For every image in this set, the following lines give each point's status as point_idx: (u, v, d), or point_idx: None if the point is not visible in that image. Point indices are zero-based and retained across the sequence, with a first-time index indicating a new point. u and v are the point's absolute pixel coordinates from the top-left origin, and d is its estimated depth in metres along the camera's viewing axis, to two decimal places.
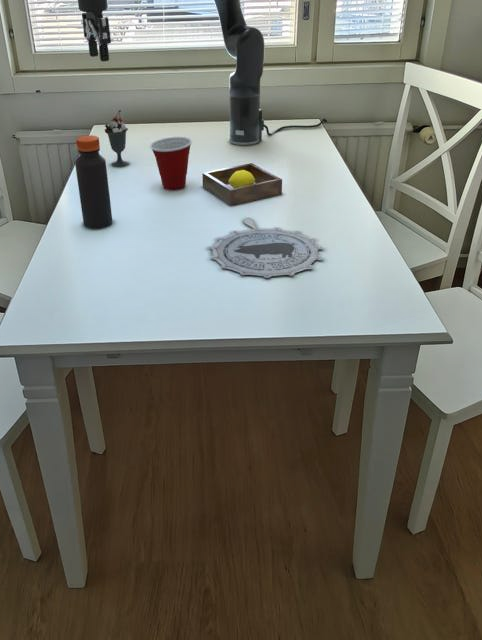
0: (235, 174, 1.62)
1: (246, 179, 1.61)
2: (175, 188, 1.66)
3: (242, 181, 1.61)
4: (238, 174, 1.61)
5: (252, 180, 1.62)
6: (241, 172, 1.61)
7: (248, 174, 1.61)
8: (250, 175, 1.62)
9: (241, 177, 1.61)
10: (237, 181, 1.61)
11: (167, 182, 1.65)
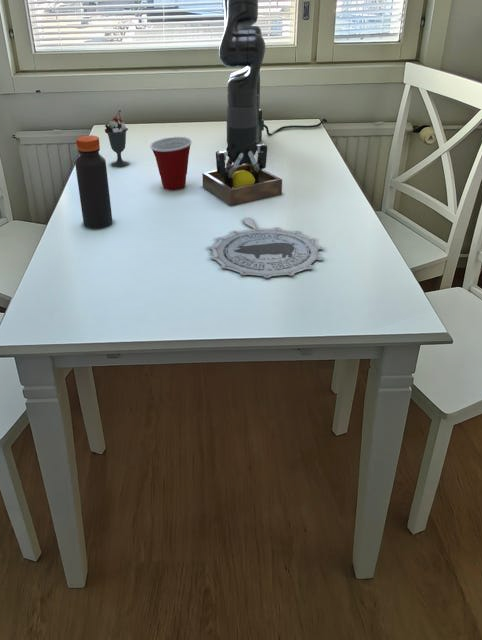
0: (235, 174, 1.62)
1: (246, 179, 1.61)
2: (175, 188, 1.66)
3: (242, 181, 1.61)
4: (237, 174, 1.61)
5: (252, 180, 1.62)
6: (241, 172, 1.61)
7: (248, 174, 1.61)
8: (250, 175, 1.62)
9: (241, 177, 1.61)
10: (237, 181, 1.61)
11: (167, 182, 1.65)
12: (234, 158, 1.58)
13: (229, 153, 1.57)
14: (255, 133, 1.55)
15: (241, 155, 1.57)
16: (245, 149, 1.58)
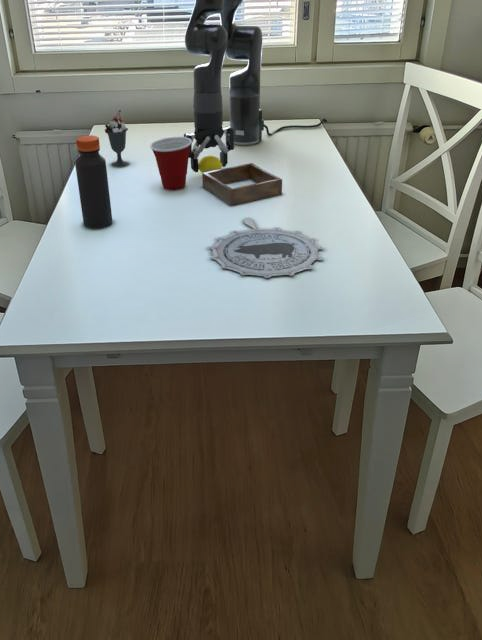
0: (203, 159, 1.72)
1: (213, 163, 1.72)
2: (175, 188, 1.66)
3: (210, 165, 1.71)
4: (205, 159, 1.72)
5: (219, 165, 1.73)
6: (208, 157, 1.72)
7: (215, 159, 1.72)
8: (217, 160, 1.72)
9: (208, 162, 1.71)
10: (205, 166, 1.72)
11: (167, 182, 1.65)
12: (201, 141, 1.68)
13: (196, 137, 1.67)
14: (220, 118, 1.65)
15: (208, 139, 1.68)
16: (211, 133, 1.68)
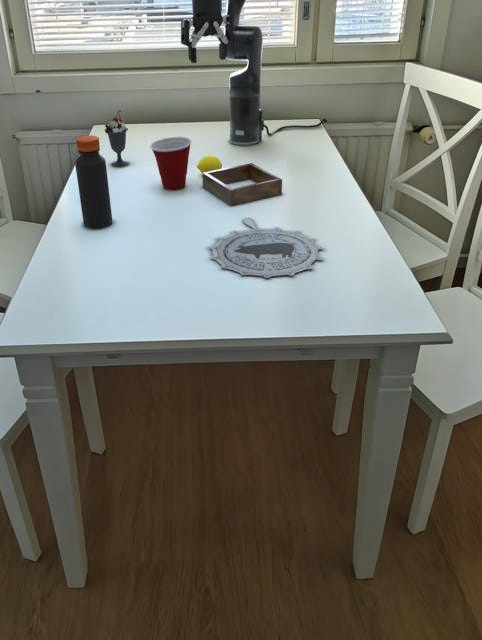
0: (203, 159, 1.72)
1: (213, 163, 1.72)
2: (175, 188, 1.66)
3: (210, 165, 1.71)
4: (205, 159, 1.72)
5: (219, 165, 1.73)
6: (209, 157, 1.72)
7: (215, 159, 1.72)
8: (217, 160, 1.72)
9: (208, 162, 1.71)
10: (205, 166, 1.72)
11: (167, 182, 1.65)
12: (199, 28, 1.61)
13: (194, 22, 1.60)
14: (219, 1, 1.58)
15: (206, 25, 1.60)
16: (210, 19, 1.61)
